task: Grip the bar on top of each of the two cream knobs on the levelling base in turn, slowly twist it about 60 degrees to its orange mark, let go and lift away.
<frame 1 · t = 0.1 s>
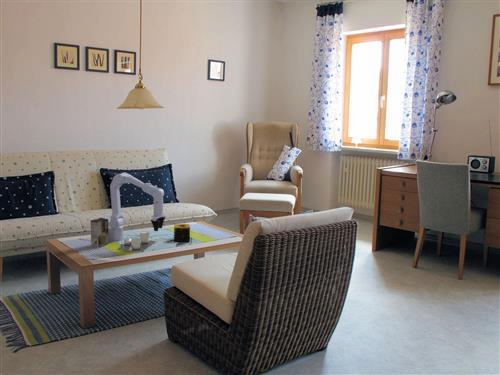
hand: (158, 229, 314), 10 cm above the table, tool pointing down, fingers open, 7 cm apart
knob right: (136, 243, 301), point 5 cm above the table, hinge at 0.0°
coffee box: (99, 245, 312), on the table
candle: (181, 240, 328), on the table
levelling base: (137, 247, 309), on the table
knob left: (144, 237, 315), point 5 cm above the table, hinge at 0.0°
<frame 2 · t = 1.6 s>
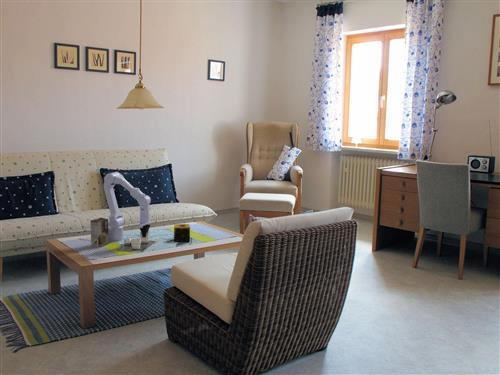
hand: (144, 236, 315), 5 cm above the table, tool pointing down, fingers closed on knob left, 2 cm apart
knob left: (144, 237, 315), point 5 cm above the table, hinge at 0.0°, touching gripper
everything else where it was.
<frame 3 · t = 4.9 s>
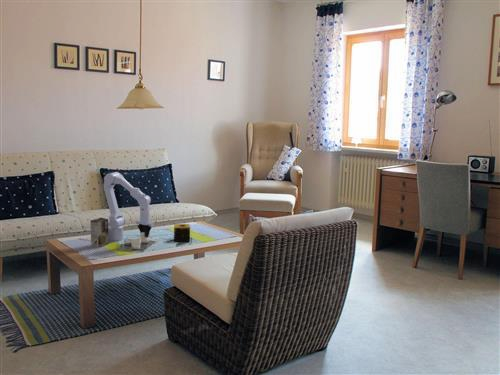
hand: (144, 236, 315), 5 cm above the table, tool pointing down, fingers closed on knob left, 3 cm apart
knob left: (144, 237, 315), point 5 cm above the table, hinge at 44.3°, touching gripper
everything else where it was.
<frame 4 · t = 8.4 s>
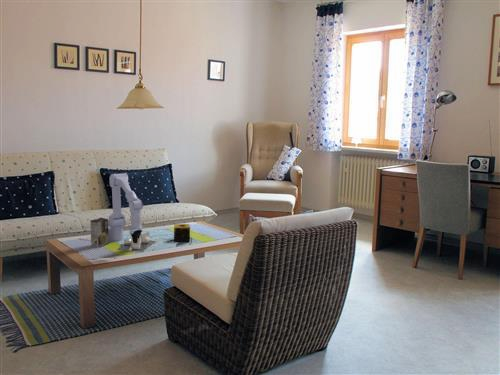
hand: (136, 242, 301), 5 cm above the table, tool pointing down, fingers closed on knob right, 2 cm apart
knob right: (136, 243, 301), point 5 cm above the table, hinge at 0.0°, touching gripper
knob left: (144, 237, 315), point 5 cm above the table, hinge at 57.2°
everything else where it was.
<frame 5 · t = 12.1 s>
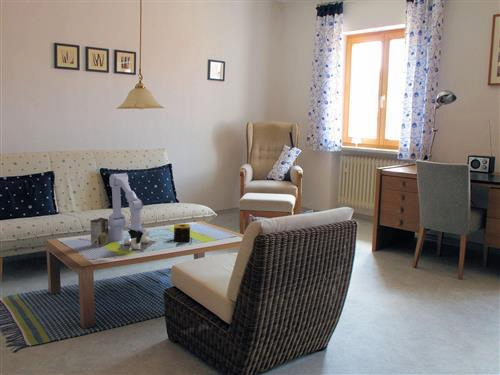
hand: (136, 242, 301), 5 cm above the table, tool pointing down, fingers open, 3 cm apart
knob right: (136, 243, 301), point 5 cm above the table, hinge at 48.7°
knob left: (144, 237, 315), point 5 cm above the table, hinge at 59.2°
everything else where it was.
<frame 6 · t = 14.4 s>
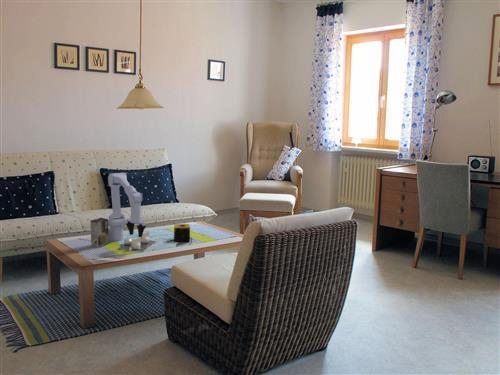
hand: (135, 235, 300), 9 cm above the table, tool pointing down, fingers open, 7 cm apart
knob right: (136, 243, 301), point 5 cm above the table, hinge at 57.5°
everything else where it was.
at the end: knob left at +59° (first picture: +0°); knob right at +58° (first picture: +0°) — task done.
